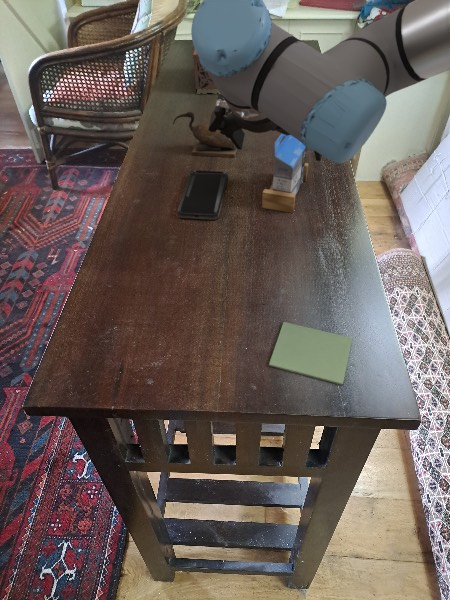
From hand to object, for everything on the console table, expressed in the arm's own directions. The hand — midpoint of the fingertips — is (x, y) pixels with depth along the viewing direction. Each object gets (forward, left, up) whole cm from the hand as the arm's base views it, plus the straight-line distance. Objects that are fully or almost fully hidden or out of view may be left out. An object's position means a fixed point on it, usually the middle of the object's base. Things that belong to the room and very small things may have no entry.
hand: (279, 147), depth 77 cm
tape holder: (0, -7, -13) cm, 15 cm away
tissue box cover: (+24, -56, -13) cm, 62 cm away
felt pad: (-13, +30, -13) cm, 36 cm away
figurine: (+21, -18, -13) cm, 31 cm away
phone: (+15, -1, -13) cm, 20 cm away
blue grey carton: (-1, -7, -13) cm, 15 cm away
